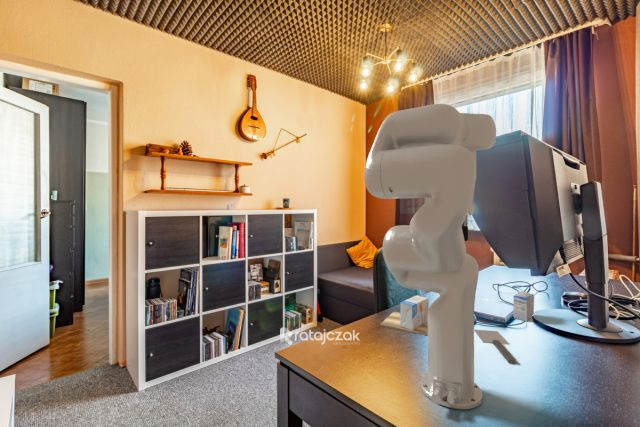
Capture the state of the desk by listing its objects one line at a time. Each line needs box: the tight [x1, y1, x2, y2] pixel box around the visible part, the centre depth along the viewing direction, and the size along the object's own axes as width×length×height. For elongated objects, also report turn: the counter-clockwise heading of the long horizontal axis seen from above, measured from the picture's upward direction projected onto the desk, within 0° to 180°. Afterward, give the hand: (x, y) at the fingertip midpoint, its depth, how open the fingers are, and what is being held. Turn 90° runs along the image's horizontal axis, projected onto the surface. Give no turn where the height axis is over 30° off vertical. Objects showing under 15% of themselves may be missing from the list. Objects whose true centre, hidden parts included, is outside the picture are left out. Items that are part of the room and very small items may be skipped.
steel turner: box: [474, 329, 517, 365], centre depth 88 cm, size 21×7×1 cm, turn 168°
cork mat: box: [379, 311, 428, 337], centre depth 106 cm, size 15×16×1 cm
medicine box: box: [512, 291, 535, 322], centre depth 110 cm, size 8×4×9 cm, turn 130°
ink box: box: [399, 293, 430, 330], centre depth 105 cm, size 8×5×15 cm
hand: (461, 240), depth 83 cm, fingers closed
